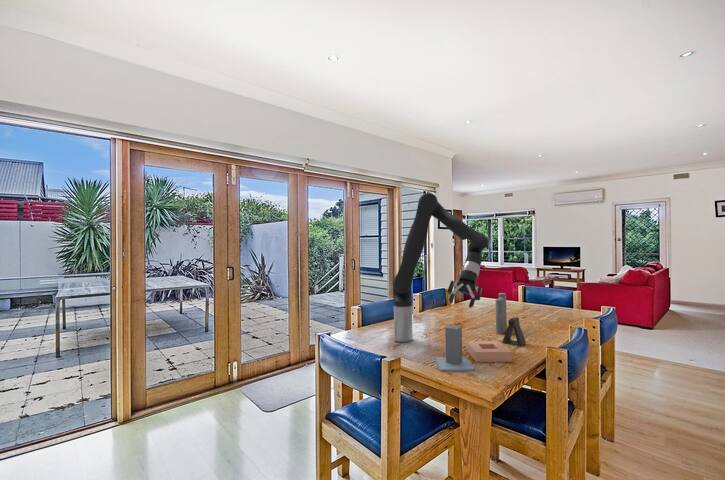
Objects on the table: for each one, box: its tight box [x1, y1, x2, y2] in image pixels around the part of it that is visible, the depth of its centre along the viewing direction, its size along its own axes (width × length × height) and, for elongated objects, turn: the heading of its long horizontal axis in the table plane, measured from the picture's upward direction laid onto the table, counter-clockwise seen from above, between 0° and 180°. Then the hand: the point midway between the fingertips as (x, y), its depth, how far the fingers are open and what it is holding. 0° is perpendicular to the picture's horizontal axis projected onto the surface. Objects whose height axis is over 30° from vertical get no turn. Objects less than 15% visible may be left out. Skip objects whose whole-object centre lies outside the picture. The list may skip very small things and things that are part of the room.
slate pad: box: [434, 356, 476, 372], centre depth 138 cm, size 13×13×1 cm
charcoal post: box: [444, 324, 463, 365], centre depth 139 cm, size 5×5×14 cm
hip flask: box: [495, 292, 508, 335], centre depth 186 cm, size 16×4×20 cm, turn 149°
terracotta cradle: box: [466, 340, 513, 363], centre depth 147 cm, size 14×14×4 cm
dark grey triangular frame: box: [502, 316, 527, 347], centre depth 164 cm, size 9×6×12 cm, turn 48°
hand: (460, 305), depth 151 cm, fingers open, 8 cm apart
